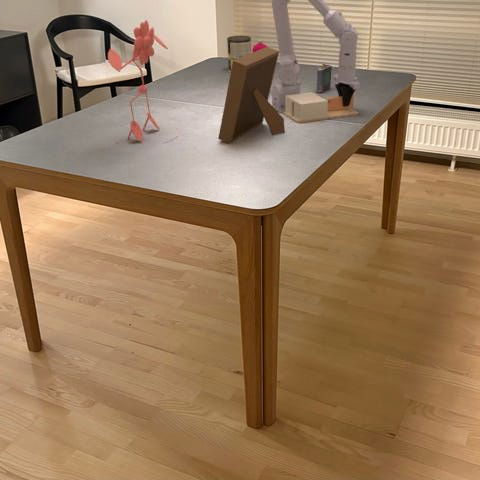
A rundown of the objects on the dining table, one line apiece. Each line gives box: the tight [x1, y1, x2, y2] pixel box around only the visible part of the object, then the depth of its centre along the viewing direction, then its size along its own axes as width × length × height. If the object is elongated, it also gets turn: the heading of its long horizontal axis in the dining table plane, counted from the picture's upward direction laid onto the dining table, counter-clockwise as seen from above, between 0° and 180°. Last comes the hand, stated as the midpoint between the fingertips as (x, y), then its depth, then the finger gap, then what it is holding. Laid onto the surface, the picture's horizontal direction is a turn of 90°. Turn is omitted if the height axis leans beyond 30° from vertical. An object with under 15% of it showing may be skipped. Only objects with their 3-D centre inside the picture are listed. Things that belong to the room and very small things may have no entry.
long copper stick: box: [324, 95, 355, 111], centre depth 211 cm, size 20×1×4 cm, turn 111°
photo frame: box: [218, 46, 286, 144], centre depth 188 cm, size 15×22×25 cm
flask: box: [316, 62, 333, 94], centre depth 237 cm, size 9×3×11 cm, turn 146°
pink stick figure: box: [107, 19, 179, 145], centre depth 186 cm, size 15×26×35 cm, turn 156°
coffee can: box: [226, 35, 252, 73], centre depth 268 cm, size 10×10×14 cm
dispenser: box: [282, 91, 359, 124], centre depth 211 cm, size 23×12×6 cm, turn 111°
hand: (344, 105), depth 214 cm, fingers closed on long copper stick
